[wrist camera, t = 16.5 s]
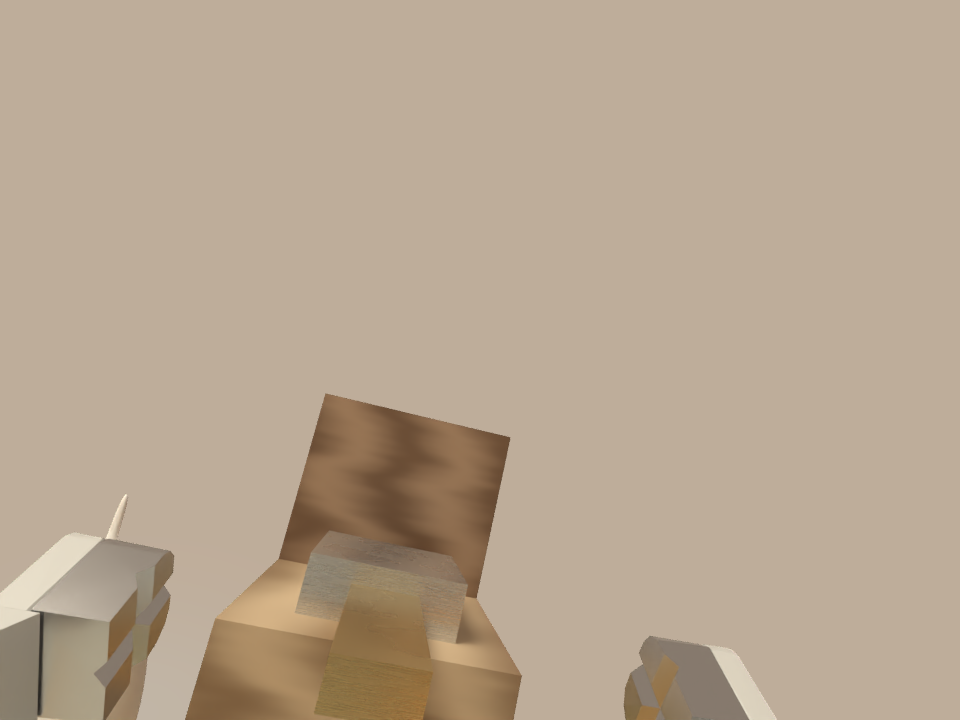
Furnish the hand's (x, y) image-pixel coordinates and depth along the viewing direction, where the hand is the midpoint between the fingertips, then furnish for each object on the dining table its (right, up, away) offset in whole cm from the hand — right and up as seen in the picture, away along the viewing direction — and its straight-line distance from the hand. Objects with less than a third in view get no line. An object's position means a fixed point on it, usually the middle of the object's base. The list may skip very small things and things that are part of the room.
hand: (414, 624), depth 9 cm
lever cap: (-3, -7, +14) cm, 16 cm away
